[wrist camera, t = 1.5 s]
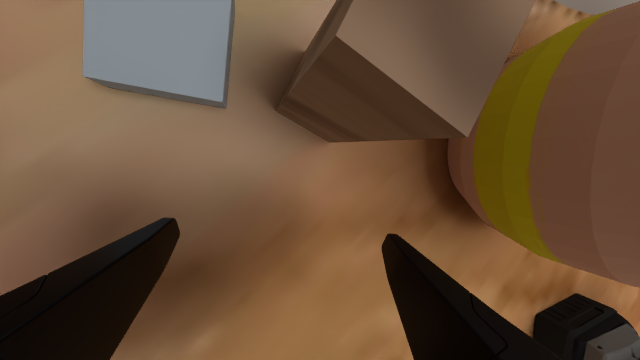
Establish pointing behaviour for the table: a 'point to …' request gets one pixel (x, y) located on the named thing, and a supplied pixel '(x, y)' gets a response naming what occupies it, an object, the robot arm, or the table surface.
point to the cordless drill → (586, 331)
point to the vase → (563, 148)
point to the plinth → (161, 47)
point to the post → (402, 68)
